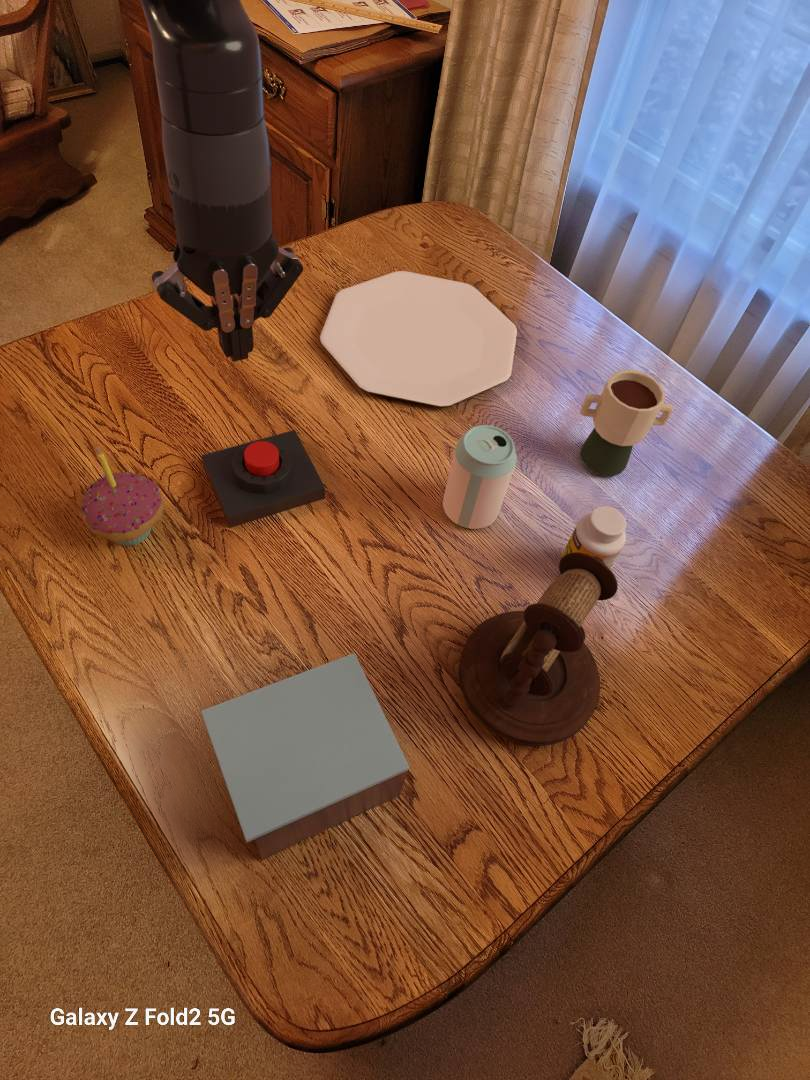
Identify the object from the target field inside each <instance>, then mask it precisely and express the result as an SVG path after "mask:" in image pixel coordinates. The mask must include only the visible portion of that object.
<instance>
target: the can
mask: <svg viewBox="0 0 810 1080" xmlns="http://www.w3.org/2000/svg"><path fill="white" fill-rule="evenodd" d="M517 461H518V456H517V451H516V448H515V442H514V440H513V438H512V437H511V435H510V434H508V432H506V431H505V430H503V429H501V428H499V427H497V426H494V425H488V424H480V425H476V426H473V427H471V428H470V429H468V430H467V431H466V432H465V434H463V435H462V436H461V437H460V438H459V439H458V441H457V442H456V444H455V448H454V452H453V455H452V460H451V464H450V468H449V473H448V477H447V481H446V485H445V490H444V495H443V497H442V508H443V512H444V513H445V515H446V516H447V518H448V519H449V520H451V521H452V522H453V523H454V524H456V525H458V526H460V527H462V528H466V529H471V530H477V529H484V528H487V527H489V526H490V525H492V524H493V523H494V522H495V521H496V520H497V518H498V517H499V515H500V511H501V509H502V506H503V502H504V501H505V497H506V494H507V491H508V488H509V486H510V482H511V479H512V476H513V473H514V470H515V469H516V465H517Z"/></svg>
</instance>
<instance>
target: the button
mask: <svg viewBox="0 0 810 1080" xmlns="http://www.w3.org/2000/svg"><path fill="white" fill-rule="evenodd" d="M244 459H245V466H246V469H247V470H248V471H249V472H250V473H251V474H253V475H256V476H268V475H271V474H273V473H274V472H275V471H276V470H277V469H278V467H279V452H278V449H277V448H276V447H275V446H274V445H273V444H271V443H269V442H265V441H259V442H254V443H252V444H250V445H249V446H248V447H247V448H246V450H245V452H244Z"/></svg>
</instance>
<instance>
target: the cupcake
mask: <svg viewBox="0 0 810 1080" xmlns="http://www.w3.org/2000/svg"><path fill="white" fill-rule="evenodd" d="M96 450H97V458H98V460H99V463H100V465H101V467H102V470H103V472H104V474H103V475H102V477H98V478H97V479H96V480H95V481H94V482H93V483H90V484H89V486H88V487H87V489H86V490H85V491H84V495H83V500H82V501H81V502H82V506H81V511H82V518H83V522H84V523H85V524H86V526H87V527H88V528H89V529H90V530H91V531H92V533H93V534H94V535H95V536H96V537H100V538H101V539H105V540H108V541H111V542H113V543H114V544H116V545H119V546H123V547H129V546H135V545H138V544H140V543H142V542H144V541H145V540H146V539H147V538H148V537H149V535H150V533H151V531H152V528H153V526H154V525H156V523H157V522H159V521H160V520H161V519H162V517H163V514H164V509H165V506H164V500H163V497H162V492H161V491H160V489H159V486H158V484H157V482H154V481H152V480H151V479H150V478H148V477H146V476H144V475H142V474H141V473H138V472H136V473H133V472H130V471H125V472H121V471H118V472H112V470H111V468H110V464H109V462H108V461H107V458H106V456H105V453H104V452H101V449H100V447H96Z"/></svg>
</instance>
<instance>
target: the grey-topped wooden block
mask: <svg viewBox="0 0 810 1080" xmlns="http://www.w3.org/2000/svg"><path fill="white" fill-rule="evenodd" d="M200 713H201V716H202V720H203V722H204V725H205V729H206V731H207V733H208V737H209V740H210V742H211V746H212V748H213V751H214V754H215V757H216V760H217V763H218V766H219V768H220V771H221V775H222V777H223V780H224V783H225V786H226V789H227V791H228V794H229V797H230V800H231V803H232V806H233V809H234V812H235V814H236V817H237V821H238V823H239V826H240V828H241V831H242V835H243V837H244V840H245V843H249V842H251V841H253V840H254V839H256V838H258V837H260V836H263V835H265V834H267V833H269V832H272V831H274V830H276V829H278V828H281V827H283V826H285V825H287V824H289V823H292V822H294V821H296V820H298V819H301V818H303V817H305V816H307V815H310V814H312V813H314V812H316V811H318V810H321V809H323V808H325V807H327V806H330V805H332V804H334V803H336V802H339V801H341V800H343V799H345V798H347V797H350V796H352V795H354V794H356V793H359V792H361V791H363V790H365V789H368V788H370V787H372V786H374V785H376V784H379V783H381V782H383V781H385V780H388V779H390V778H392V777H394V776H397V775H399V774H401V773H403V772H405V771H408V772H409V769H410V765H409V763H408V761H407V759H406V756H405V754H404V753H403V751H402V748H401V745H400V744H399V742H398V740H397V738H396V736H395V733H394V732H393V729H392V727H391V726H390V725H391V724H390V723H389V721H388V719H387V717H386V715H385V713H384V711H383V709H382V707H381V705H380V702H379V701H378V699H377V696H376V695H375V693H374V690H373V688H372V686H371V684H370V682H369V679H368V678H367V676H366V674H365V672H364V669H363V668H362V665H361V663H360V661H359V659H358V656H357V654H356V652H353V653H351V654H348V655H345V656H343V657H339V658H337V659H335V660H334V659H333V660H332V661H329V662H327V663H324V664H322V665H319V666H316V667H313V668H311V669H308V670H306V671H302V672H300V673H297V674H294V675H292V676H289V677H287V678H284V679H281V680H278V681H277V682H276V681H275V682H274V683H270V684H268V685H265V686H263V687H260V688H258V689H255V690H252V691H250V692H246V693H244V694H241V695H239V696H236V697H233V698H231V699H228V700H226V701H222V702H220V703H218V704H215V705H212V706H209V707H206V708H204V709H202V710H200ZM254 841H255V840H254Z"/></svg>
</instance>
